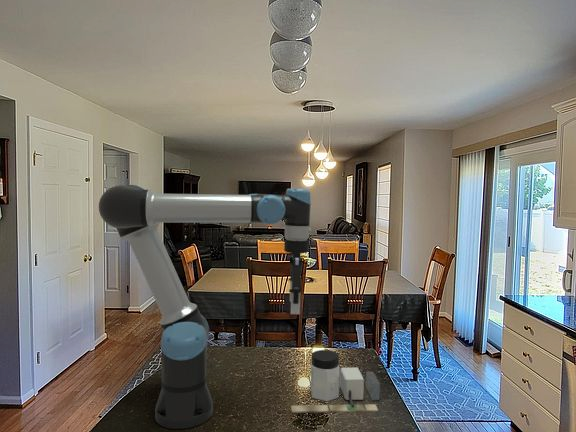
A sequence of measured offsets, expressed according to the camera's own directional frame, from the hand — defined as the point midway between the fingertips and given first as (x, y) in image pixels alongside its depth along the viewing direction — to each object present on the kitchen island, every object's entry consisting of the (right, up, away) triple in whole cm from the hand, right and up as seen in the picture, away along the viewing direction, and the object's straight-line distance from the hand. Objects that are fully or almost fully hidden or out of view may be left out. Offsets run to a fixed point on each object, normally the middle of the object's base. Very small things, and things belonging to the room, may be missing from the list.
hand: (294, 307), depth 130 cm
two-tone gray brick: (+23, -25, -4) cm, 34 cm away
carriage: (+17, -25, -7) cm, 31 cm away
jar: (+9, -25, -5) cm, 27 cm away
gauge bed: (+11, -26, -13) cm, 31 cm away
